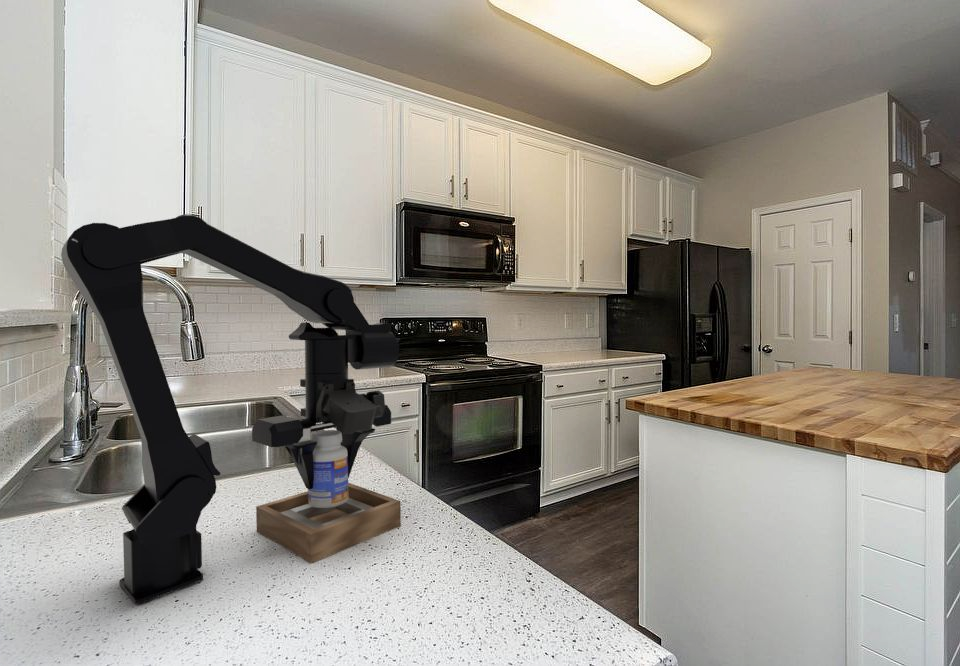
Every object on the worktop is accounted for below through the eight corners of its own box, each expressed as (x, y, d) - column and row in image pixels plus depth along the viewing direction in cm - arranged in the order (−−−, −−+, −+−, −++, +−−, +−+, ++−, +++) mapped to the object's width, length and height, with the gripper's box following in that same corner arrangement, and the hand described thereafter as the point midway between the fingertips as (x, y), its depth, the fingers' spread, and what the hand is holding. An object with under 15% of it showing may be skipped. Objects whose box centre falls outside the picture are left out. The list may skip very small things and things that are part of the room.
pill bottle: (341, 509, 65) (340, 437, 65) (301, 509, 65) (300, 437, 65) (353, 494, 71) (352, 428, 70) (316, 494, 71) (315, 428, 71)
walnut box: (311, 563, 58) (310, 534, 58) (256, 531, 67) (256, 506, 67) (400, 525, 69) (400, 500, 69) (343, 502, 78) (342, 480, 78)
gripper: (294, 383, 55) (295, 518, 56) (416, 370, 70) (416, 478, 70) (249, 376, 63) (250, 496, 63) (368, 366, 77) (368, 464, 77)
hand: (327, 483), depth 68 cm, fingers closed on pill bottle, 5 cm apart
